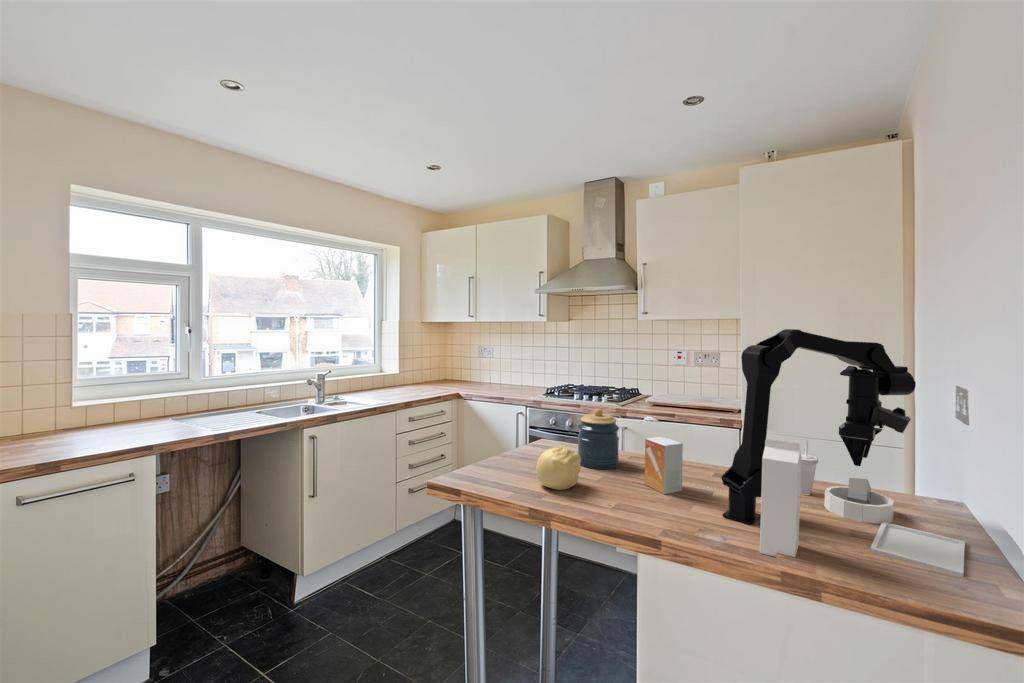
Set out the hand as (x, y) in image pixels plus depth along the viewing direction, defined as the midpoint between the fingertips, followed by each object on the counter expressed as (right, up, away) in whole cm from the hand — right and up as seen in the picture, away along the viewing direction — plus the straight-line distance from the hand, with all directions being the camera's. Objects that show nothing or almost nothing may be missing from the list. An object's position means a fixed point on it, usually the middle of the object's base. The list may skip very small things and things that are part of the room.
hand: (861, 461), depth 110 cm
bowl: (-1, -13, -1) cm, 13 cm away
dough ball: (-69, -12, +18) cm, 73 cm away
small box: (-41, -12, +17) cm, 46 cm away
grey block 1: (0, -9, 0) cm, 9 cm away
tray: (-2, -13, -18) cm, 23 cm away
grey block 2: (-3, -12, -2) cm, 12 cm away
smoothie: (-5, -12, +14) cm, 19 cm away
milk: (-29, -13, -18) cm, 37 cm away
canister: (-55, -11, +39) cm, 68 cm away
